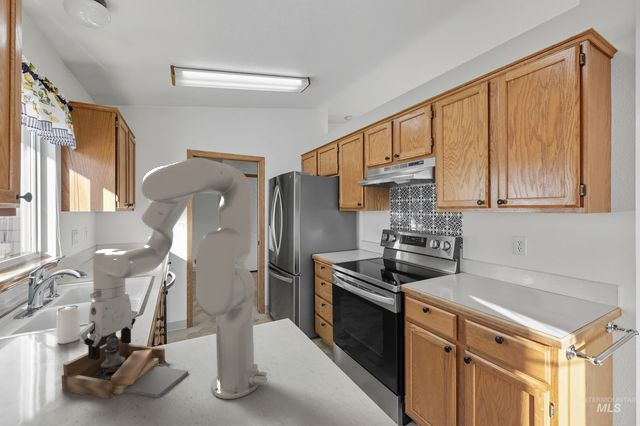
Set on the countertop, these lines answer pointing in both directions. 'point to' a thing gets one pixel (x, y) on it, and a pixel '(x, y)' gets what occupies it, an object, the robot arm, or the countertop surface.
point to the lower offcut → (149, 366)
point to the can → (68, 324)
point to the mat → (156, 381)
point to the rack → (98, 370)
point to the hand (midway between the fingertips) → (111, 350)
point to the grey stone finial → (112, 357)
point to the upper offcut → (131, 368)
